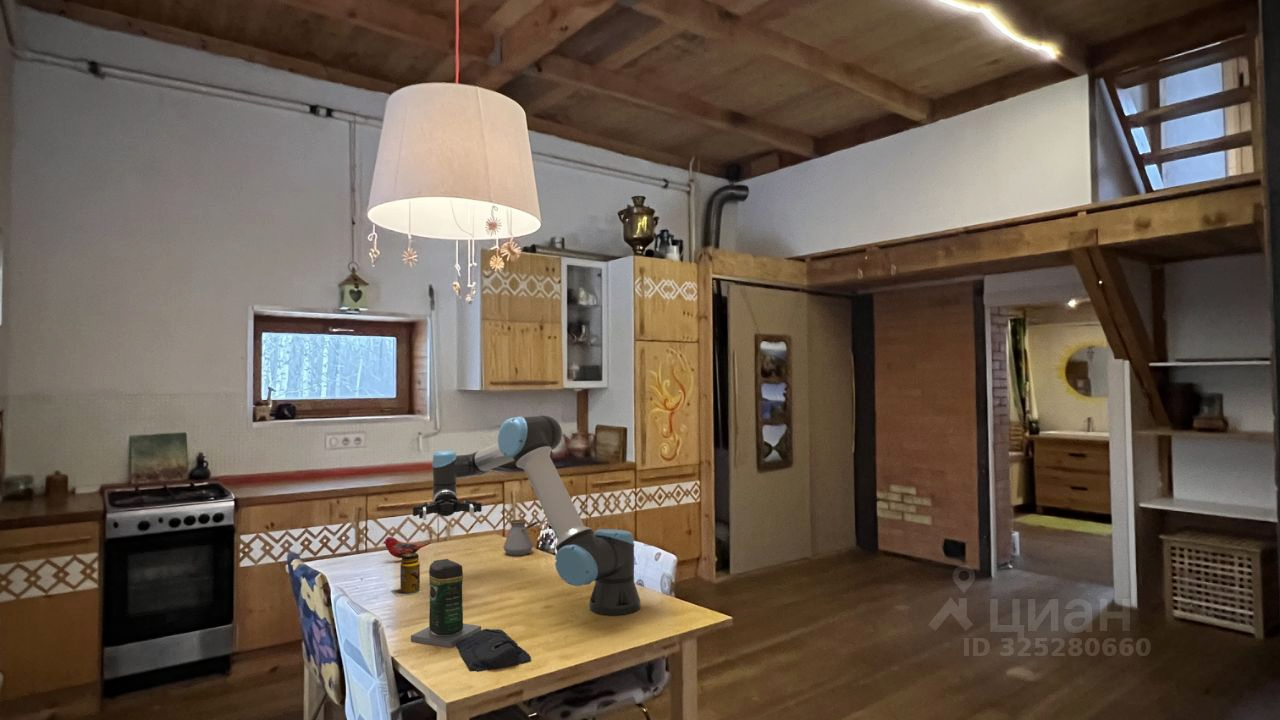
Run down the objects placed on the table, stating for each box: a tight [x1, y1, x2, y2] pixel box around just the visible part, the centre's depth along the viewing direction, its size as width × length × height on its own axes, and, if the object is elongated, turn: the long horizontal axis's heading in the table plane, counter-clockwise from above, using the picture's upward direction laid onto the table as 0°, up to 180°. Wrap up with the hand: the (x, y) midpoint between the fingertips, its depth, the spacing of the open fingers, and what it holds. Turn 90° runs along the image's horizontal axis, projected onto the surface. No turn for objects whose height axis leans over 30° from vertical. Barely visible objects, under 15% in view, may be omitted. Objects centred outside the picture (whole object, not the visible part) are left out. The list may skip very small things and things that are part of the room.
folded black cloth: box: [455, 628, 532, 673], centre depth 184 cm, size 15×22×5 cm
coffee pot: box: [503, 519, 542, 557], centre depth 285 cm, size 21×12×15 cm, turn 40°
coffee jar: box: [428, 558, 464, 635], centre depth 197 cm, size 10×8×19 cm
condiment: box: [391, 552, 424, 597], centre depth 238 cm, size 7×8×12 cm
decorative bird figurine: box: [382, 536, 431, 563], centre depth 277 cm, size 3×18×10 cm, turn 115°
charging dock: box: [410, 622, 482, 649], centre depth 196 cm, size 13×13×2 cm
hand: (448, 513), depth 215 cm, fingers open, 13 cm apart
